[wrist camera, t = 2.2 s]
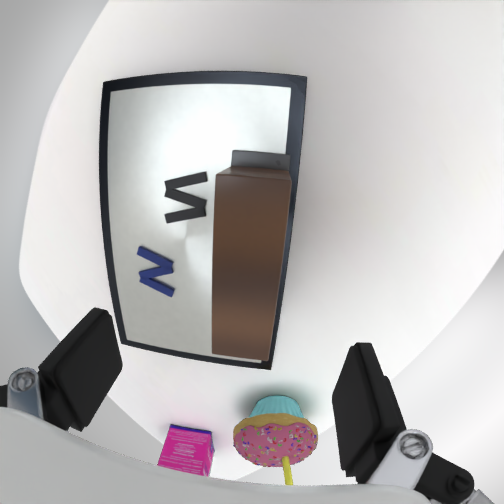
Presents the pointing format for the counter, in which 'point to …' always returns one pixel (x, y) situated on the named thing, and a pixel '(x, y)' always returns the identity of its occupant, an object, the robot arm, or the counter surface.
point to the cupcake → (275, 435)
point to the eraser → (248, 251)
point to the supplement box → (187, 451)
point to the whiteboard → (178, 165)
